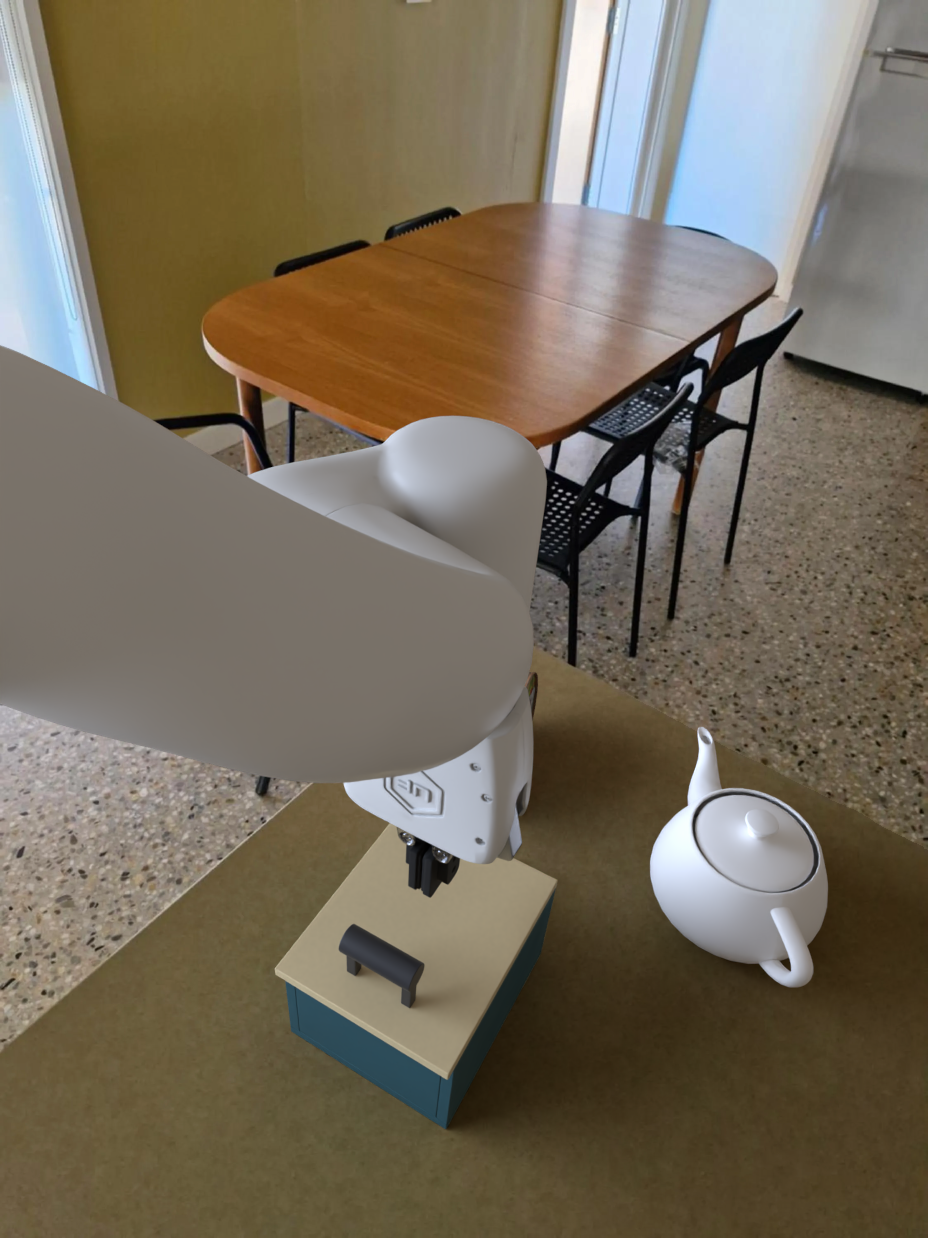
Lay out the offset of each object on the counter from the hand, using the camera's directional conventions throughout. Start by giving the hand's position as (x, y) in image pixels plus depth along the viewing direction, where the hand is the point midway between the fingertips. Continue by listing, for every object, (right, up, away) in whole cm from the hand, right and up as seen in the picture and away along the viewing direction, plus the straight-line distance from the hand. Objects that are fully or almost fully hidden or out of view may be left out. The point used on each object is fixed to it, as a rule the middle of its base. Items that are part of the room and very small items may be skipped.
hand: (431, 875), depth 56 cm
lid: (-1, -4, +3) cm, 5 cm away
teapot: (+23, -7, +17) cm, 30 cm away
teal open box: (-1, -11, +9) cm, 14 cm away
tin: (+5, +2, +26) cm, 27 cm away
